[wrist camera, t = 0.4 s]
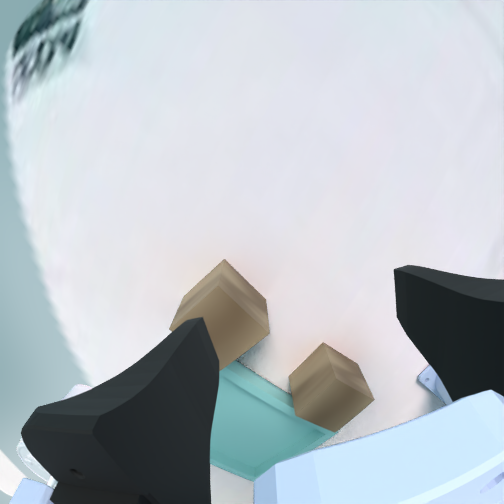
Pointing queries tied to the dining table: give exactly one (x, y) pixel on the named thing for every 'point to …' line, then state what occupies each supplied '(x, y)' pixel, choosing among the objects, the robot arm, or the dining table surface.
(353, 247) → the dining table surface
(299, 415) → the block
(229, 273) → the block
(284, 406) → the tray
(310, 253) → the dining table surface
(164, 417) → the robot arm
